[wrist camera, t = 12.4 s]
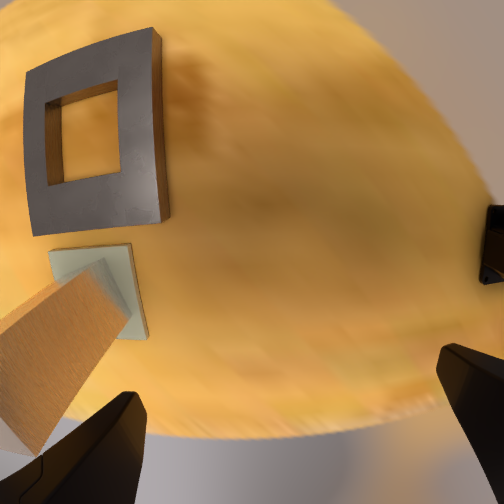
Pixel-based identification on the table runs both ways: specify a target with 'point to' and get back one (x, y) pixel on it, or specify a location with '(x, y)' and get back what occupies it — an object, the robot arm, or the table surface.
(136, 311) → the sage pad
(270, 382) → the table surface
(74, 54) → the gray square frame
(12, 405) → the tall steel block
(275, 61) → the table surface
